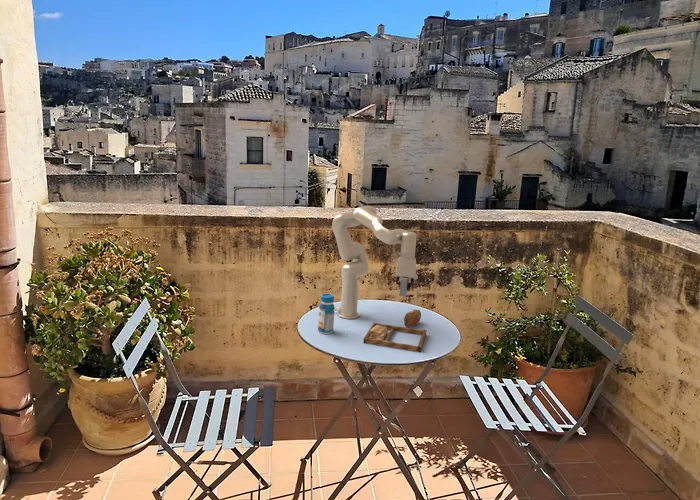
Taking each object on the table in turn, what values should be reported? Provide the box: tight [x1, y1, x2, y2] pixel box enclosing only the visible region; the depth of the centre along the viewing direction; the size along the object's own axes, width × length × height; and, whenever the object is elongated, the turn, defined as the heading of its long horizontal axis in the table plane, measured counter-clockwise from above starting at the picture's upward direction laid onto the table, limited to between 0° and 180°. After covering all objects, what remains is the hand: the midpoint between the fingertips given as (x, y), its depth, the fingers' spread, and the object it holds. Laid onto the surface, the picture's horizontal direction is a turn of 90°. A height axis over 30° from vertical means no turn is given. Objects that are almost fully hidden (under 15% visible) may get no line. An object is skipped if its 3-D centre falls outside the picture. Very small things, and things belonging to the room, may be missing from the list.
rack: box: [362, 322, 427, 353], centre depth 283 cm, size 29×24×3 cm
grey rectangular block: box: [398, 277, 410, 297], centre depth 286 cm, size 3×12×9 cm, turn 165°
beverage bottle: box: [317, 293, 335, 335], centre depth 285 cm, size 8×8×20 cm
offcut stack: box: [368, 325, 389, 341], centre depth 285 cm, size 7×13×5 cm, turn 162°
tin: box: [403, 309, 422, 328], centre depth 304 cm, size 15×3×8 cm, turn 143°
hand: (404, 288), depth 286 cm, fingers closed on grey rectangular block, 3 cm apart
